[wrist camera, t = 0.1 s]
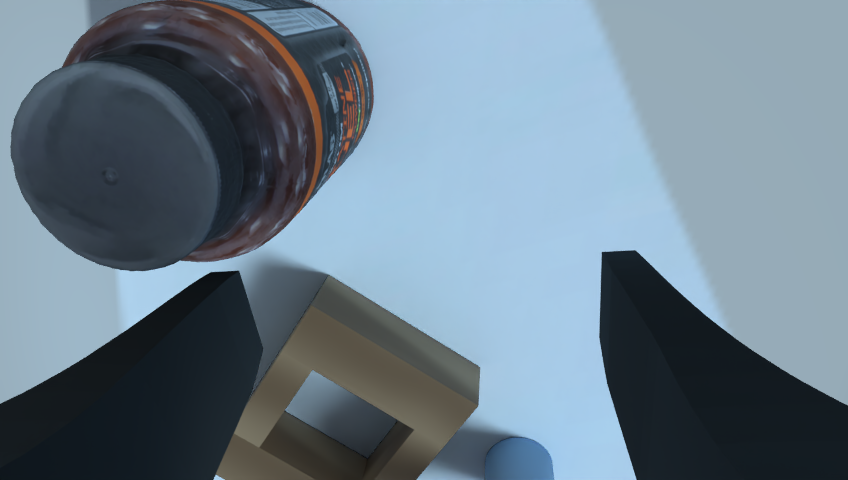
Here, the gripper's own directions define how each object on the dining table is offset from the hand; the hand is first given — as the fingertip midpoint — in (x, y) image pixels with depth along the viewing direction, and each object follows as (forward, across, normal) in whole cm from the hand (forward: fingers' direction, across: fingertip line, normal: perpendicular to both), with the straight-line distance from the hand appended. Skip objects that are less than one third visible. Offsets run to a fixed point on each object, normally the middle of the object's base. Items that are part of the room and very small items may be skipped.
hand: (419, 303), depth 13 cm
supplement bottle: (+11, +5, -1) cm, 12 cm away
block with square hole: (+9, +5, +11) cm, 15 cm away
